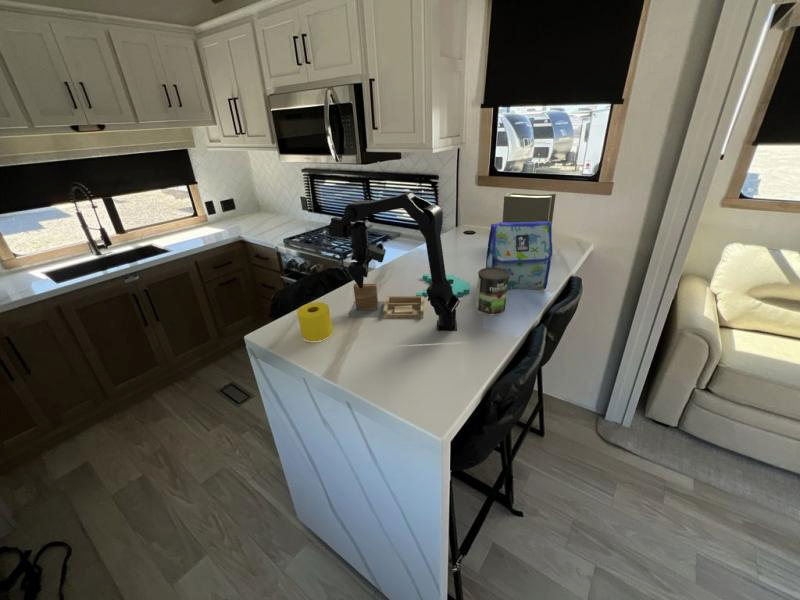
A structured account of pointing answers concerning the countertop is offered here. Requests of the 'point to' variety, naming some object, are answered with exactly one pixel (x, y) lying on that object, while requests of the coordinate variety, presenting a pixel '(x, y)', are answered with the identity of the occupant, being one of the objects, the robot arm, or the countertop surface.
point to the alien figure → (457, 285)
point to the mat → (366, 312)
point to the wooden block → (366, 297)
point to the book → (528, 207)
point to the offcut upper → (403, 310)
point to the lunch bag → (521, 253)
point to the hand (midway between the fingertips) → (363, 282)
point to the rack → (404, 301)
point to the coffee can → (492, 291)
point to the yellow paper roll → (315, 321)
